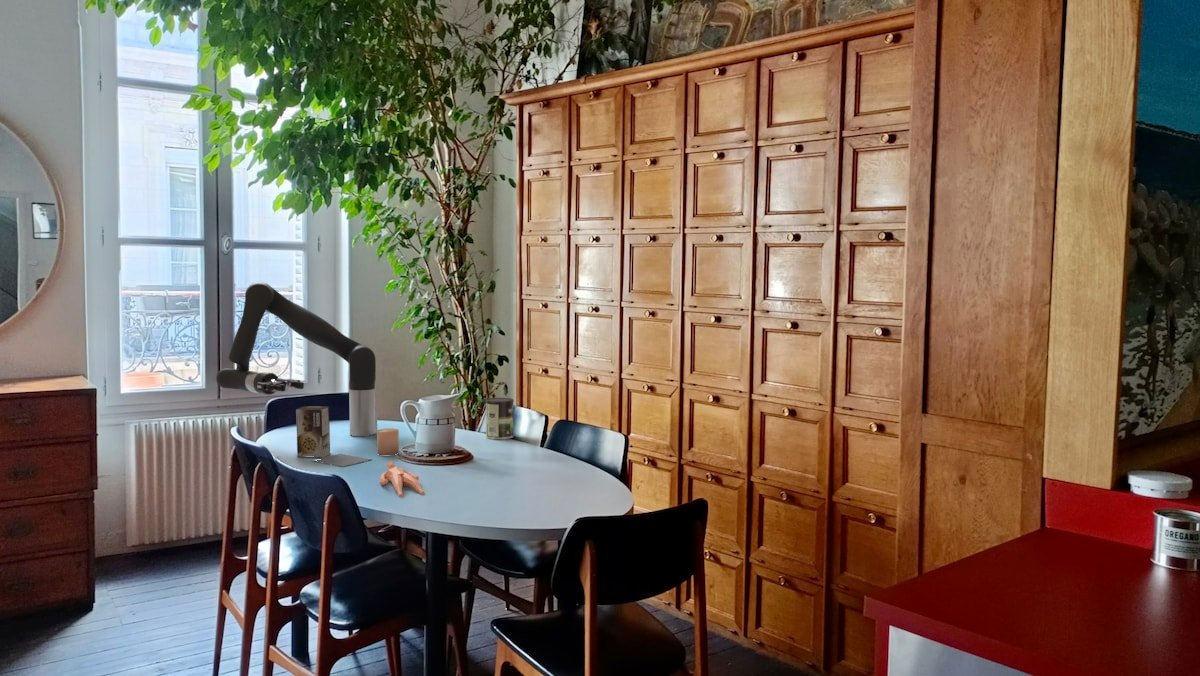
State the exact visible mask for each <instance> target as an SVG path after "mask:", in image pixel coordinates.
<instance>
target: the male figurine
mask: <svg viewBox="0 0 1200 676" xmlns="http://www.w3.org/2000/svg"><path fill="white" fill-rule="evenodd" d="M386 468H388V469H387V471H385V472H383V473H381V476H380V478H379V484H380V486H386V485H387V484H388V482H391V483H392V486H393V488H394V490H395V492H396V493H397V495H398V498H403V497H404V494H403V486H404V487H406V488H409V487H411V488H412V489H413V490H415V491H417V492H418V493H419V494H420V496H422V495H425V491H424V489H422V487H421V483H420V482H419V479H420V477H419V475H415V474H414V473H412V472H410V471H409V470H408V471H407V470H405V469H404V468H403V467H398V466H395V463H394V462H393V461H392V460H389V462H387V464H386Z"/></svg>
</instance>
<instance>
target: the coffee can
mask: <svg viewBox="0 0 1200 676" xmlns="http://www.w3.org/2000/svg"><path fill="white" fill-rule="evenodd" d="M485 438H486V439H489V440H509V439H512V438H514V399H513V398H509V397H490V398H486V399H485Z"/></svg>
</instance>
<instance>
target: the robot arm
mask: <svg viewBox="0 0 1200 676" xmlns="http://www.w3.org/2000/svg"><path fill="white" fill-rule="evenodd" d="M244 296H245V298H244V305H243V313H242V316H241V321H240V323H239V326H238V328H237V331H236V333H235V337H234V338H233V342H232V344H231V348H230V350H229V353H228V354H229V355H228V359H229V361H230V362H231V363H233V364H236V369H235V368H222V369H220V370H219V371H218V372H217V373H216V378H215V379H216V380H215V381H216V384H217V385H218V386H219V387H220V388H224V389H232V390H242V391H246V392H251V393H255V394H262V395H274V394H275V393H276V392H286V390H292V389H299V390H303V389H305V387H304V386H305V384H304V382H303V381H301V379H294V378H280V377H278V375H277V374H275V373H273V372H268V371H267V372H266V371H252V370H250V360H251V356H252V354H253V352H254V351H253V350H254V348H255V344H256V340H257V336H258V331H259V328H260V325H261V322H262V319H263V317H264V315H265V313H266V312H268V313H269V314H272V315H274V316H276V317H277V318H279V319H280V320H281V321H282V322H283V323H284V324H285V325H286V326H288V327H289V328H290V329H291V330H292V331H294V332H296V334H298V335H299V336H301V337H303V338H304V339H306V340H307V341H309V342H311V343H313V344H315V345H317V346H319V347H321V348H323V349H326V350H328V351H330V352H333V353H334V354H336V355H338V356H339V357H340V358H341V359H343V360H344V361H345V362H347V363H348V364H349V382H348V383H349V384H348V389H349V390H348V392H349V393H348V394H349V396H348V398H349V401H348V402H349V405H348V406H349V436H351V435H352V436H351V437H369V435H370V436H373V434H374V435H375V434H377V430H378V408H377V407H376V397H375V396H376V378H377V377H376V361H377V360H376V354H375V352H374V351H373V350H372V349H371V348H370V347H368V346H367V345H365V344H362V343H359V342H357V341H355V340H354V339H352V338H349V337H348V336H346V335H344V334H343V333H342V332H341V331H339V330H338V329H337V328H336V327H334V326H333V325H332V324H330V323H329V322H328V321H326V320H325V319H324V318H323V317H320V316H319V315H317V314H316V313H314V312H312V311H311V310H308V309H307V308H305V307H303V306H301V305H299V304H297V303H295V302H293V301H291V300H289V299H288V298H286V297H285V296H284V295H283V294H281V293H279V292H278V290H276V289H275V288H273V287H272V286H271V285H270V284H268V283H267V282H264V281H254V282H252V283H251V284H250V285H249V286H247V288H246V290H245V294H244Z"/></svg>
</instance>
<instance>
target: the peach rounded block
mask: <svg viewBox="0 0 1200 676" xmlns="http://www.w3.org/2000/svg"><path fill="white" fill-rule="evenodd" d="M399 431H400V430H399V429H398V428H393V427H392V428H380V429H377V433H376V435H377V436H376V439H377V440H376V442H377V443H376V446H377V448H376V449H377V450H376V451H377V453H376V454H379V455H378V456H380V455H394V456H396V455H395V454H397V453H398V452H399V453H400V447H399V446H400V443H399V439H400V438H399V437H400V436H399V434H400V433H399ZM397 455H398V454H397Z"/></svg>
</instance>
